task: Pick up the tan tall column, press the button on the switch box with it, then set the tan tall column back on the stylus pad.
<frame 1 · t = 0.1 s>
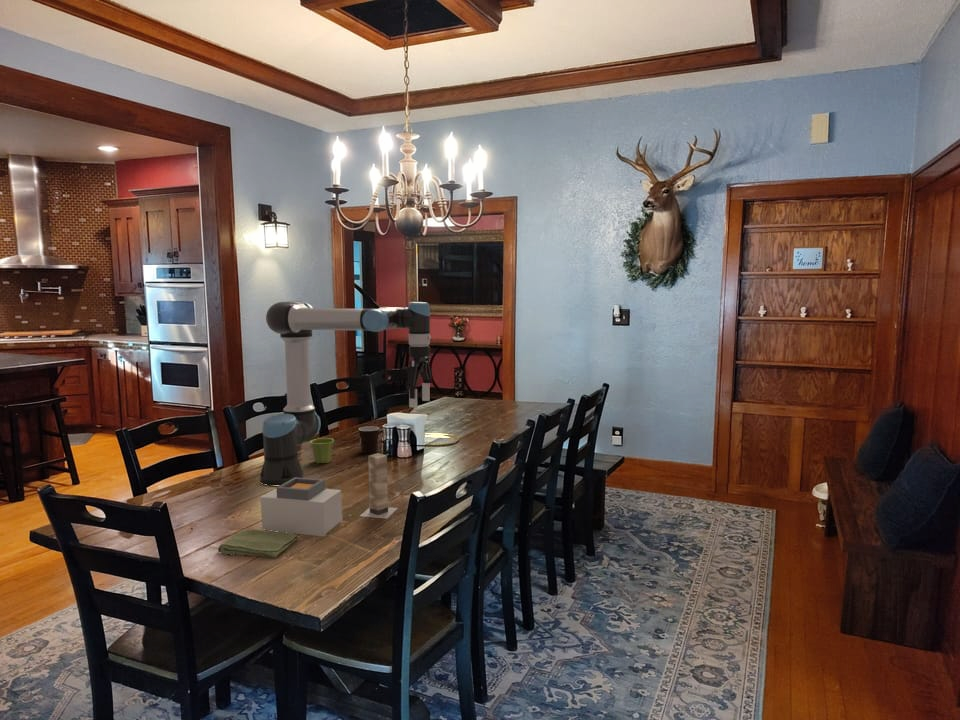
hand: (419, 404, 225), 28 cm above the table, tool pointing down, fingers open, 13 cm apart
switch box: (302, 526, 184), on the table
button: (301, 491, 183), point 10 cm above the table, slide at 0.0 cm
tan tall column: (379, 511, 193), point 1 cm above the table, touching stylus pad
washcloth: (259, 549, 170), on the table
plant pot: (322, 462, 251), on the table
stylus pad: (379, 513, 193), on the table
serving platter: (420, 442, 284), on the table
coffee mug: (370, 451, 267), on the table
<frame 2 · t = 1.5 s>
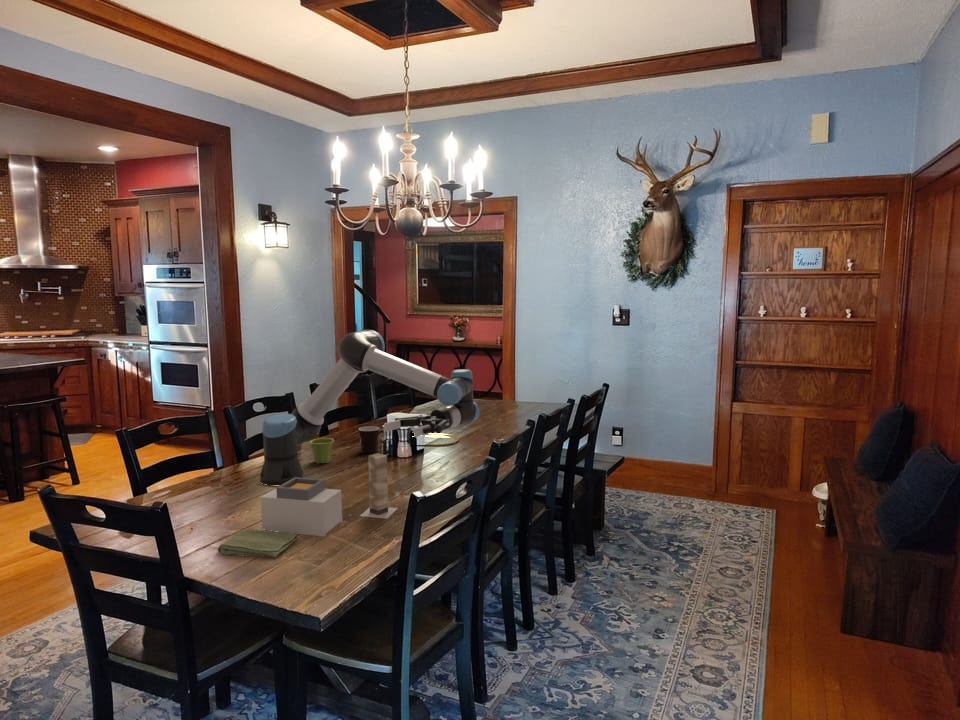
hand: (399, 430, 198), 25 cm above the table, tool horizontal, fingers open, 13 cm apart
nothing on the table moved.
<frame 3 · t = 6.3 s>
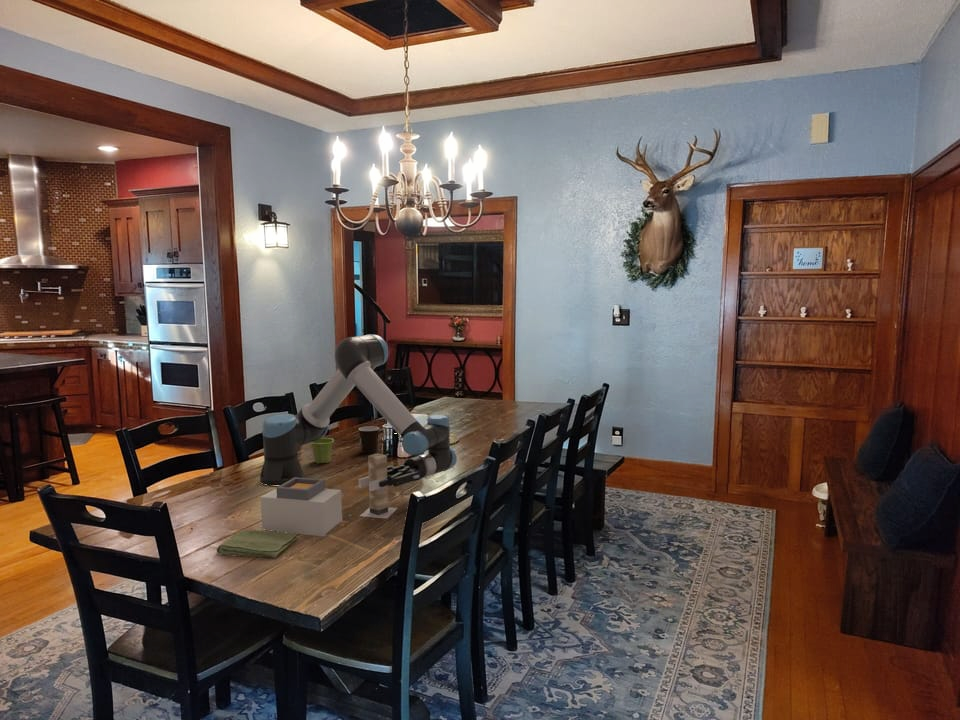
hand: (364, 485, 188), 11 cm above the table, tool horizontal, fingers closed on tan tall column, 4 cm apart
tan tall column: (379, 511, 193), point 1 cm above the table, touching gripper, stylus pad
everything else where it was.
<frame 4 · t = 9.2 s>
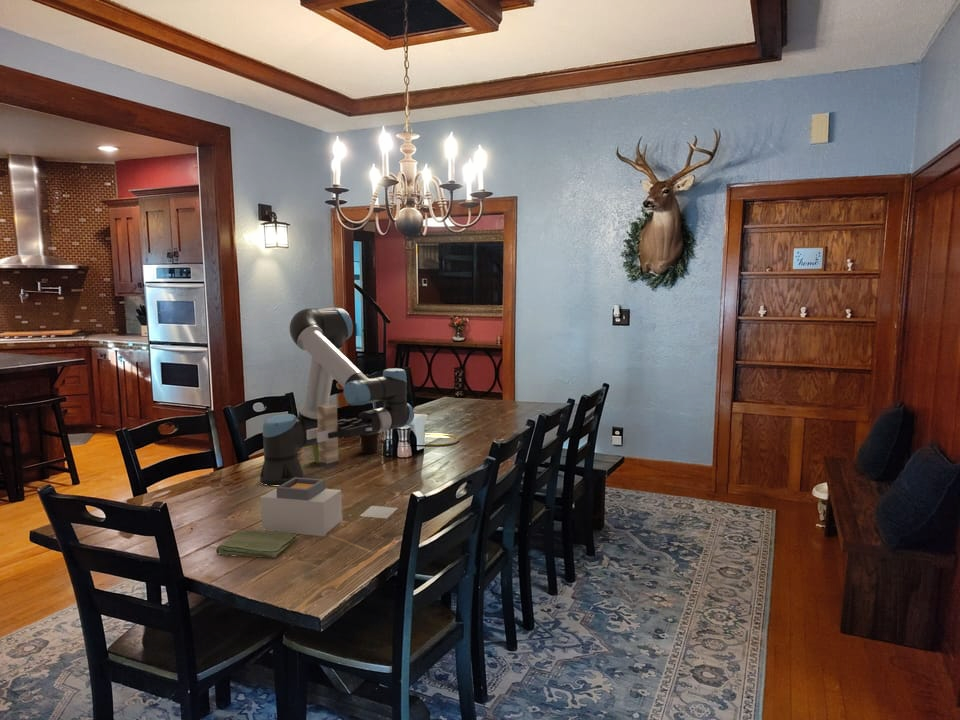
hand: (312, 436, 178), 28 cm above the table, tool horizontal, fingers closed on tan tall column, 4 cm apart
tan tall column: (328, 465, 183), point 18 cm above the table, touching gripper
everything else where it was.
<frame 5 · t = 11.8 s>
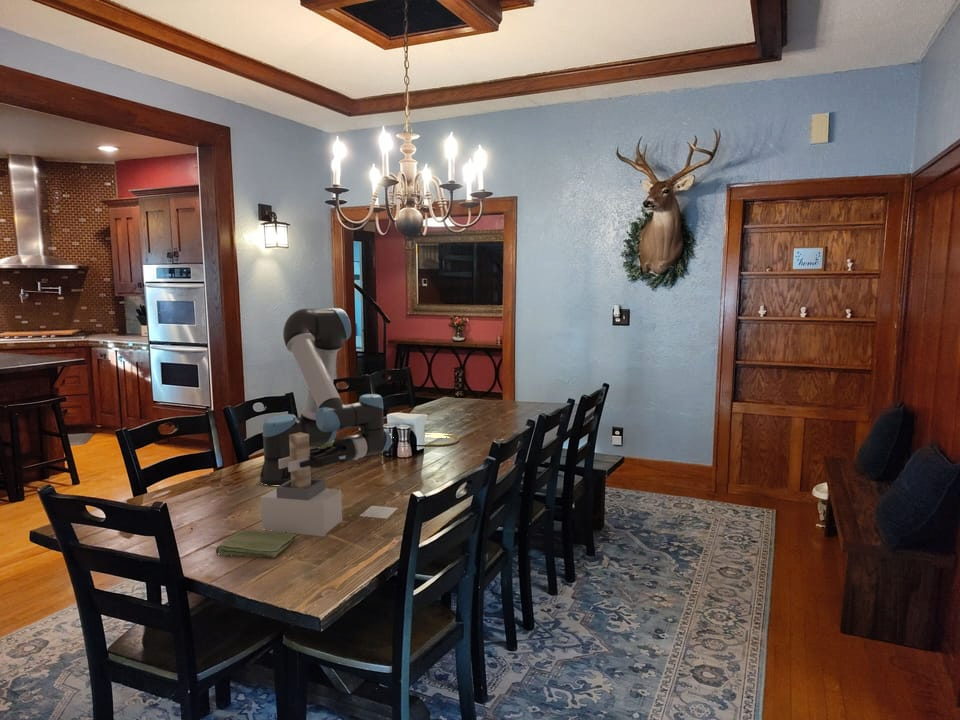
hand: (284, 465, 177), 20 cm above the table, tool horizontal, fingers closed on tan tall column, 4 cm apart
button: (301, 499, 183), point 8 cm above the table, slide at 2.3 cm, touching tan tall column
tan tall column: (301, 494, 183), point 10 cm above the table, touching button, gripper
everything else where it was.
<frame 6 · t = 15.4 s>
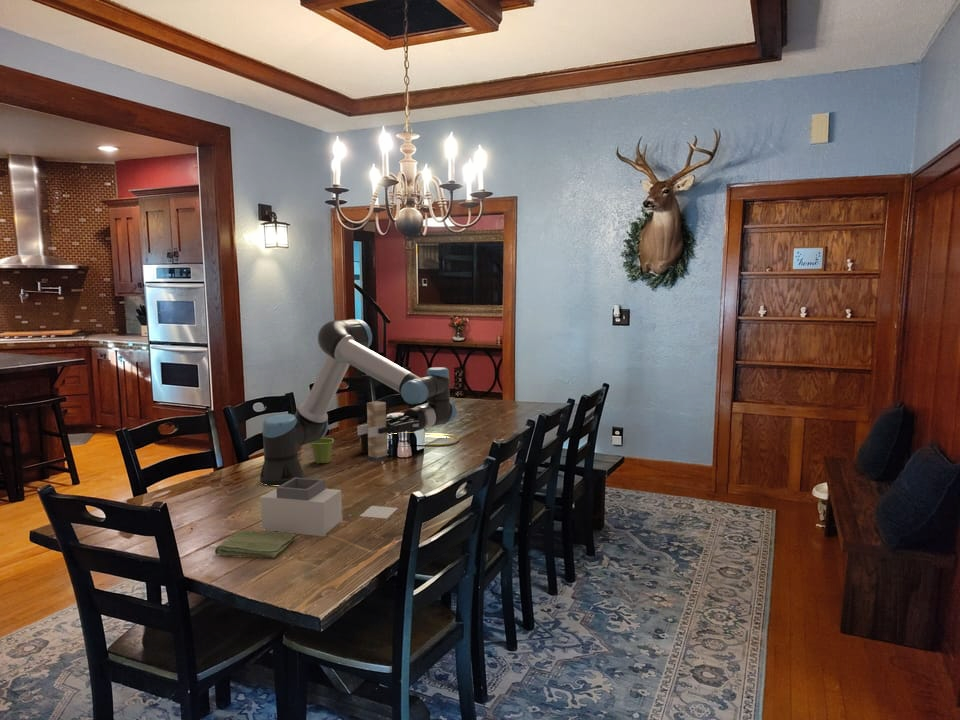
hand: (363, 431, 186), 27 cm above the table, tool horizontal, fingers closed on tan tall column, 4 cm apart
button: (301, 499, 183), point 8 cm above the table, slide at 2.4 cm
tan tall column: (377, 460, 191), point 17 cm above the table, touching gripper
everything else where it was.
when the fingers open (12 cm above the table, at t = 18.2 s): tan tall column drops 1 cm, resting on stylus pad.
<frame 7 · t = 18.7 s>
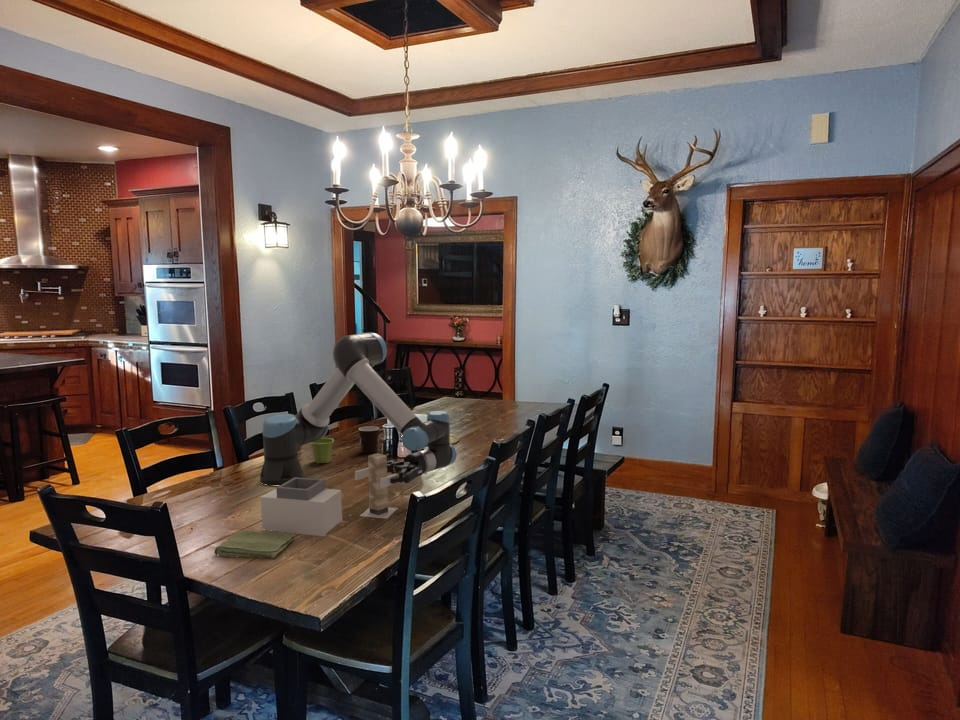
hand: (368, 479, 189), 12 cm above the table, tool horizontal, fingers open, 11 cm apart
tan tall column: (378, 512, 193), point 1 cm above the table, touching stylus pad
everything else where it was.
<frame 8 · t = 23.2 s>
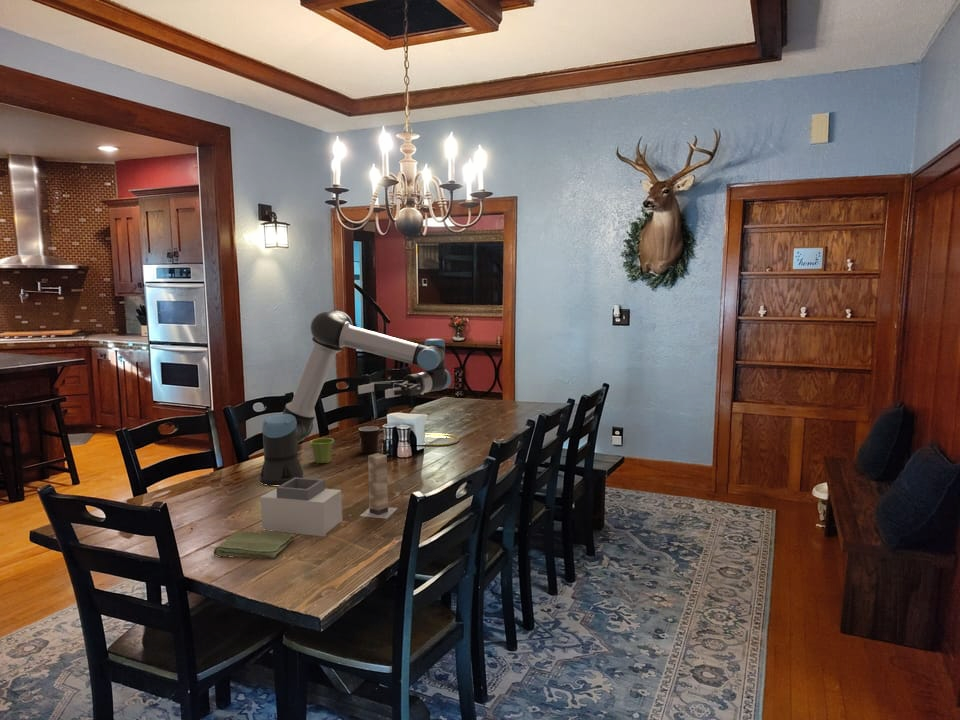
hand: (371, 392, 209), 35 cm above the table, tool horizontal, fingers open, 13 cm apart
at the end: button slide at 2.4 cm; tan tall column inside the target area on the stylus pad (0.0 cm from its centre), point 0.6 cm above the stylus pad's base; tan tall column tilted 0° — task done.
